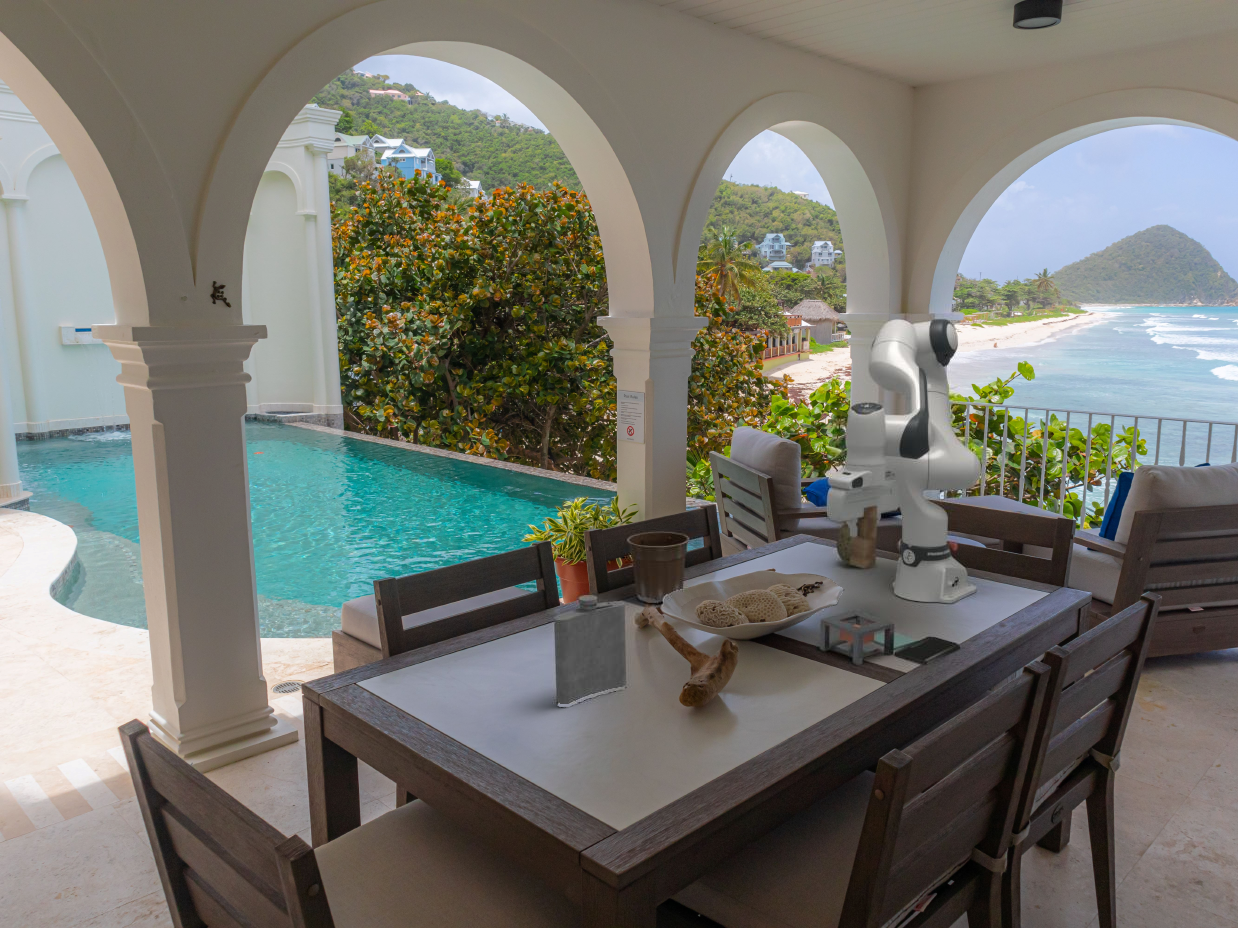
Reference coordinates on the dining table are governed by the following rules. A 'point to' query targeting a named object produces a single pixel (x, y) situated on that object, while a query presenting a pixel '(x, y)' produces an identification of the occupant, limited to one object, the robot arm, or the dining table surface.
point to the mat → (895, 640)
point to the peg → (865, 540)
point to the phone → (927, 650)
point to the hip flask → (589, 649)
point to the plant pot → (658, 562)
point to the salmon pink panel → (849, 637)
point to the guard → (857, 634)
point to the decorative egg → (844, 543)
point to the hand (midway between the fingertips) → (863, 534)
